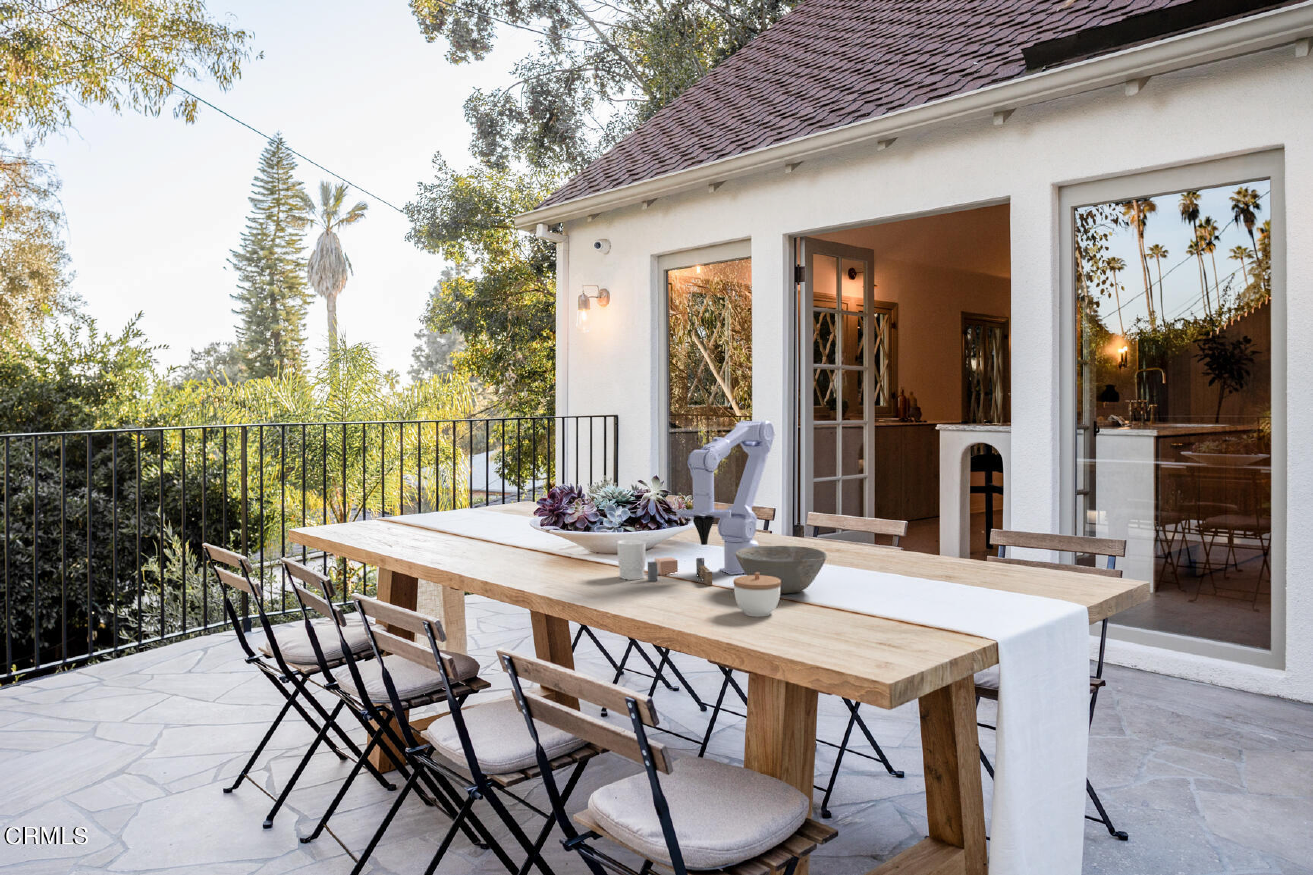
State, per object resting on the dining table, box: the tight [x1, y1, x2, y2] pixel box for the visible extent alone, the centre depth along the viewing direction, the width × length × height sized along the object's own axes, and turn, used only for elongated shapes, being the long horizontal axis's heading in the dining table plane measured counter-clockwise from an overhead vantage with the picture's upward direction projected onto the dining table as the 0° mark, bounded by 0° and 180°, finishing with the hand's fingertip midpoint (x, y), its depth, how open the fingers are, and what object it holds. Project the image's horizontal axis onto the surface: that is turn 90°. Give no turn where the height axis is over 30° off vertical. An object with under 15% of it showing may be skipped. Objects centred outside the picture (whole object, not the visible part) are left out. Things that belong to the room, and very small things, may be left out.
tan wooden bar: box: [699, 564, 713, 587], centre depth 229 cm, size 10×1×4 cm, turn 9°
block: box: [654, 556, 679, 576], centre depth 242 cm, size 5×5×4 cm
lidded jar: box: [733, 572, 781, 618], centre depth 195 cm, size 11×11×9 cm
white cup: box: [616, 539, 647, 581], centre depth 236 cm, size 8×8×10 cm
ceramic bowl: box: [735, 545, 827, 595], centre depth 217 cm, size 22×23×10 cm
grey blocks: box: [647, 557, 705, 582], centre depth 234 cm, size 16×2×5 cm, turn 109°
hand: (704, 544), depth 231 cm, fingers closed
